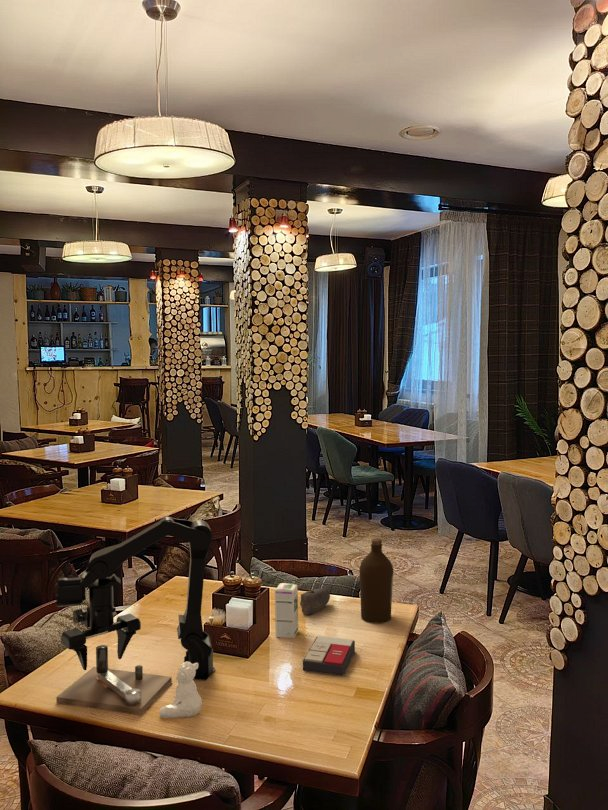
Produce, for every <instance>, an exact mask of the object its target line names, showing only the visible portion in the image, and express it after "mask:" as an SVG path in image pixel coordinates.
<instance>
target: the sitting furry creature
mask: <svg viewBox="0 0 608 810" xmlns="http://www.w3.org/2000/svg"><path fill="white" fill-rule="evenodd" d="M198 666H199V665H198V663H194V664H192V663H191V662H188V661H186V662H184V661H183V663H181V665H180V667H179V668H178V672H177V675H176V677H175V680H176V681H177V686H176V689H175V696H174V700H173V703H170V704H165V705H164V706H161V707H160V709H159V713H158V714H159V715H158V716H159V717H160V718H161V719H181V718H192V717H194V716H196V715H198V713H200V711H201V710H202V706H203V704H202V703H203V700H202V698H201V696H200V694H199V692H198V690H197V689H198V687H197V685H196V682H195V681H194V679H193V678H194V677H195V674H196V669H198Z"/></svg>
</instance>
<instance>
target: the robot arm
mask: <svg viewBox="0 0 608 810" xmlns="http://www.w3.org/2000/svg"><path fill="white" fill-rule="evenodd" d="M210 527H211V526H210V525H209V524H208V522H207V521H205V520H202V519H196V520H193V521H192V520H189V519H183V518H182V519H181V518H175V517H171V516H164V517H162V518H161V519H160V520H159V521H157V522H155V523H154V524H152V525H149V526H148V527H146V528H145V529H143V530H141V531H140V532H138V533H136V534H134V535H133V536H131V537H129V538H127V539H126V540H124V541H122V542H121V543H118V544H114V545H111V546H107V547H104V548H101V549H99V550H97V551H95V552H93V553H92V554H91V556H90V558H89V562H88V564H87V568H86V569H85V570H84V571H83V572H82V576H81V577H80V576H77V577H59V578H58V580H57V589H56V590H57V593H56V595H55V596H56V597H55V598H56V599H55V600H56V603H55V604H56V607H57V608H62V607H63V608H64V607H73V606H74V607H75V606H82V605H83V604H84V601H87V595H88V600H89V601H88V602H89V603H88V605H87V607H86V610H85V611H83V609H82V608H79V609H75V610H72V621H73V623H74V624H78V623H80V625H81V626H85V628H89V629H87V630H83V631H82V630H80V629H79V628H78V627H75V628H72V629H68V630H63V631H62V633H61V635H60V643H61V644H62V645H64V646H65V648H67V649H68V650H73V652H75V653H76V655H77V658H78V660H79V662H80V665H81V667H82V669H83V670H84V671H87V668H88V646H87V645H86V643H87V639H92V638H94V637H97V636H102V635H104V634H108V633H111V632H116V634H117V635H116V636H117V647H116V648H117V649H116V650H117V651H116V652H117V659H119V660H121V659H122V658H123V655H124V653H125V651H126V649H127V647H128V645H129V643H130V641H131V639H132V638H133V636H134V635H136V634H137V632H138V631H140V630H141V628H142V623H141V620H140V618H138V617H137V616H135V615H134V614H132V613H126V614H123V615H120V616H117V618H116V622H114V620H115V619H114V613H116V610H117V608H116V606H114V587H115V586H116V587H118V586H120V585H121V578H120V577H119V576H117V575H116V573H114V572H115V571H116V570H118V568H120V566H121V565H123V563H125V562H126V561H127V560H128V559H129V558H131V557H133V556H135V555H136V554H139V553H141V552H142V551H143V550H145V549H147V548H149V547H151V546H152V545H154V544H156V543H157V542H159V541H161V540H162V539H164V538H166V537H168V536H169V537H172V538H175V539H178V540H180V541H184V542H186V543H188V547H189V555H190V558H189V559H190V560H189V570H188V582H187V593H186V603H185V604H186V606H185V609H184V612H183V614H178V626H177V628H176V632H177V639H178V640H180V644H181V646H182V647H183V649H185V650H186V651H185V656H184V657H183V663H184V662H186V661H188V662H191V663H192V664H194V663H198V665H199V666H198V669H196V674H195V677H194V678H193V680H199V681H207V680H208V679H210V677H211V676H212V675H213V674H214V672H215V671H216V667H214V649H213V648H212V642H211V638H210V635H209V634H208V633H207V632H206V631H204V630H203V620H202V603H203V592H204V591H203V590H204V580H205V568H206V559H207V557H208V555H209V551H210V548H211V543H212V540H213V533H212V530H211V528H210ZM87 590H88V591H87Z"/></svg>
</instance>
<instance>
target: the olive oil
mask: <svg viewBox="0 0 608 810" xmlns="http://www.w3.org/2000/svg"><path fill="white" fill-rule="evenodd" d="M370 544H371V545H370V549H371V550H370V552H369V553H368V554H367V555H366V556H365V557H364V558H363V559H362V561H361V562H360V566H359V569H358V571H359V588H360V589H359V591H360V592H359V593H360V596H359V597H360V618H361V619H362V620H363V621H365V622H367V623H370V624H384V623H387V622H389V621H391V619H392V603H393V601H392V600H393V586H394V567H393V564H392V562H391V560H390V559H389V558H388V557H387V555H385V553H383V544H382V539H380V538H372V539H371V543H370Z"/></svg>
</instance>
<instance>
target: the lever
mask: <svg viewBox="0 0 608 810" xmlns="http://www.w3.org/2000/svg"><path fill="white" fill-rule="evenodd" d="M95 665H96V666H95V667H96V672H97V673H98V679H99V680H101V681H102V682H103V683H105V684H106V685H107V686H108V687H110V688H111V689H112V690H113V691H115V692H116V693H117V694H119V695H120V696H121V697H122V698H124V699H125V702H126V704H129V705H134V704H138V703H139V702H141V690H140V689H132V688H131V687H130V686H128V685H127V684H126V683H124V682H123V681H122V680H120V679H119V678H118V677H116V676H115V675H114V674H112V673H111V672H110V671H108V669H109V647H108V645H106V644H102V645H97V646H96V647H95Z"/></svg>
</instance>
